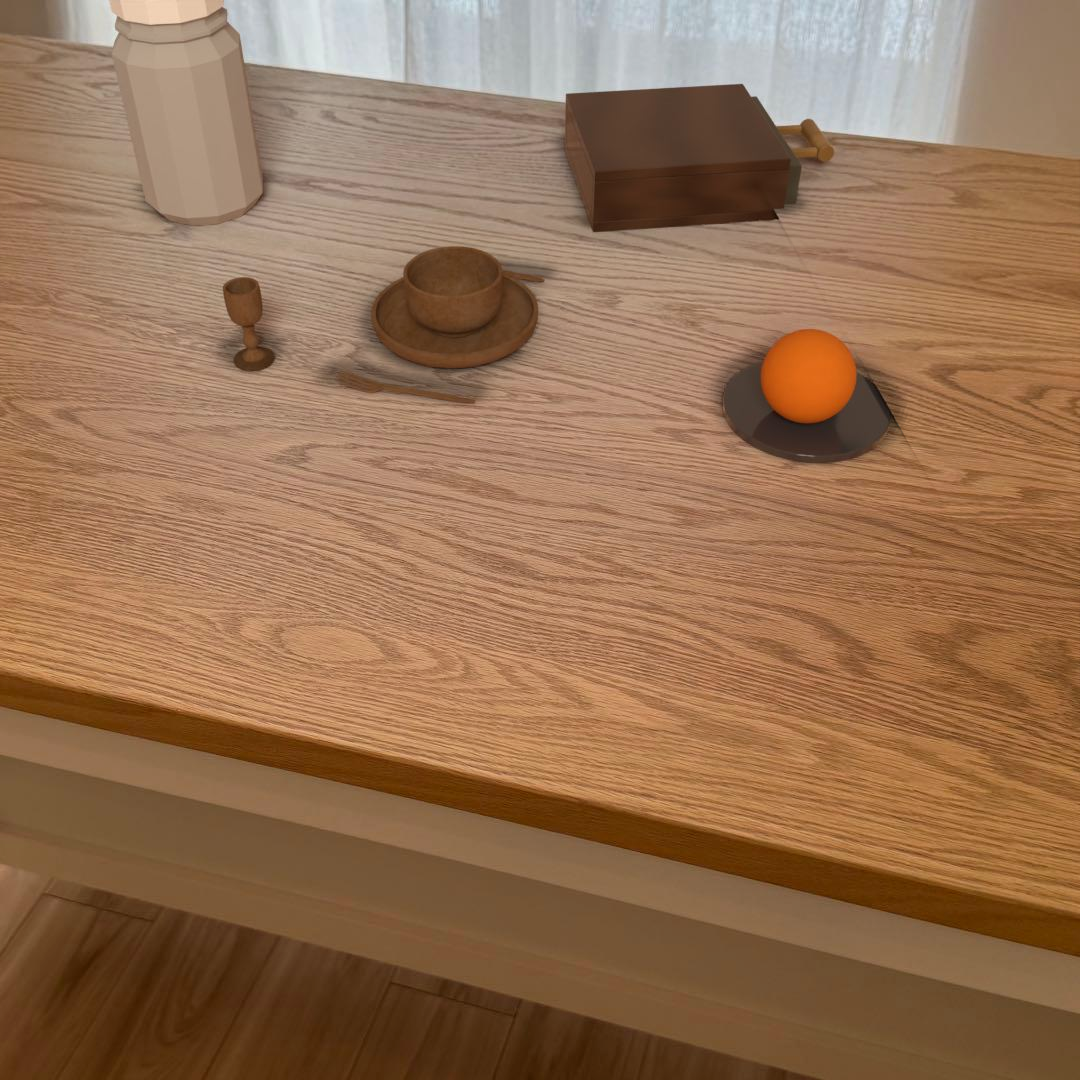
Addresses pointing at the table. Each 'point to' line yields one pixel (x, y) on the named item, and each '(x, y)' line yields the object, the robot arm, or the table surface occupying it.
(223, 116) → the jar
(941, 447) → the table surface
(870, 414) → the coaster
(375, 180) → the table surface
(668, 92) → the cabinet
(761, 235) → the table surface
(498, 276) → the place setting
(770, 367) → the orange
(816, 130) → the drawer
